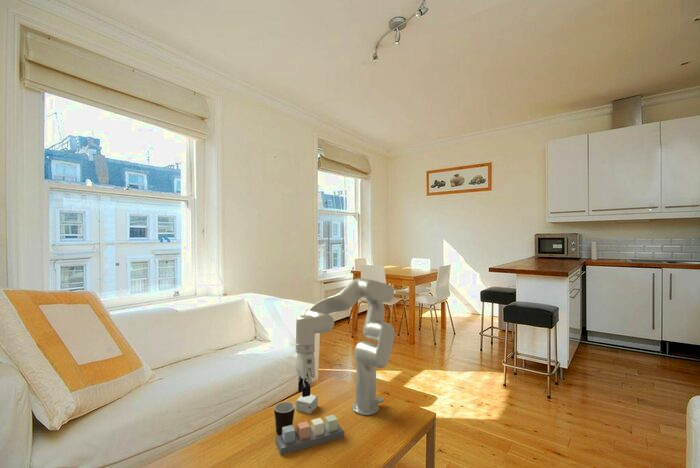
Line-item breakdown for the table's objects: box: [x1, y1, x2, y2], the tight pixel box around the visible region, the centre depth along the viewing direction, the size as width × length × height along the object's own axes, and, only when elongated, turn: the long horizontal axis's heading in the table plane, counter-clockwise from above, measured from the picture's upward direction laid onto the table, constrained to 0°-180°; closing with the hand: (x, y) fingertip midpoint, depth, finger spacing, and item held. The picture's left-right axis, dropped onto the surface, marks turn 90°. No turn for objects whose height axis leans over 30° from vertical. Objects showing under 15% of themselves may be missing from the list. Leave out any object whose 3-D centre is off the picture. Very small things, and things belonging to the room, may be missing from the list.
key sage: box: [324, 414, 339, 433], centre depth 133 cm, size 4×4×4 cm
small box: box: [295, 393, 319, 414], centre depth 153 cm, size 8×8×5 cm
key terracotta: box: [296, 420, 311, 440], centre depth 127 cm, size 4×4×4 cm
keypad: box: [275, 423, 345, 456], centre depth 129 cm, size 26×8×2 cm, turn 117°
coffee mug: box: [273, 401, 296, 436], centre depth 136 cm, size 12×9×10 cm
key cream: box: [310, 417, 325, 436], centre depth 130 cm, size 4×4×4 cm
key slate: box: [282, 424, 296, 445], centre depth 125 cm, size 4×4×4 cm
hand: (304, 393), depth 128 cm, fingers open, 4 cm apart
